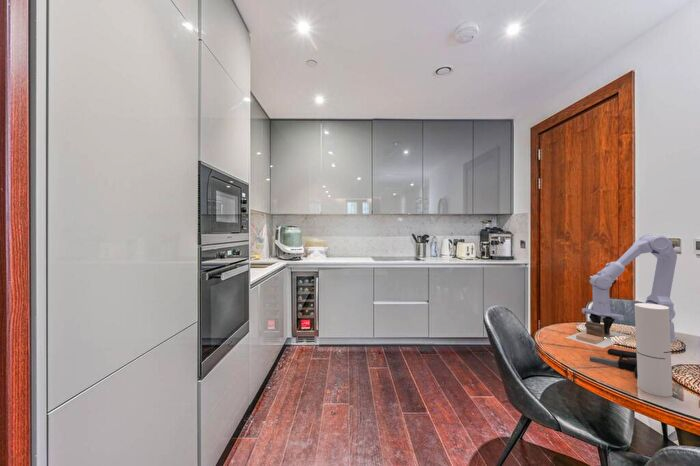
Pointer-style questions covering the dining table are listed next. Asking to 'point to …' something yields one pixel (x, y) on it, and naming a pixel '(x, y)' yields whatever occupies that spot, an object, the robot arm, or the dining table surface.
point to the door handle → (621, 362)
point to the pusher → (595, 329)
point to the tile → (589, 338)
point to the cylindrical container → (653, 349)
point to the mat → (602, 344)
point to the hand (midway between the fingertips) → (602, 332)
